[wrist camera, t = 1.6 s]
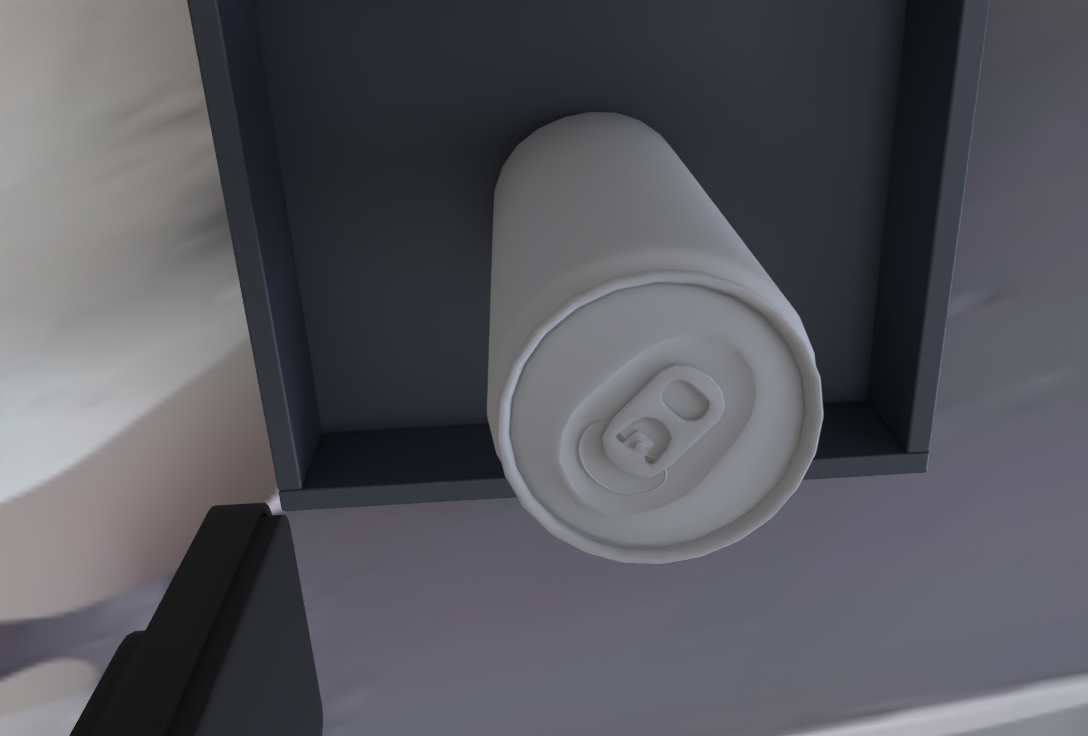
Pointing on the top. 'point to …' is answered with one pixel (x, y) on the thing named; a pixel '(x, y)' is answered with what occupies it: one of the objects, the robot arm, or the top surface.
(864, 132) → the desk tray
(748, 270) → the beverage can
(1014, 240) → the top surface
